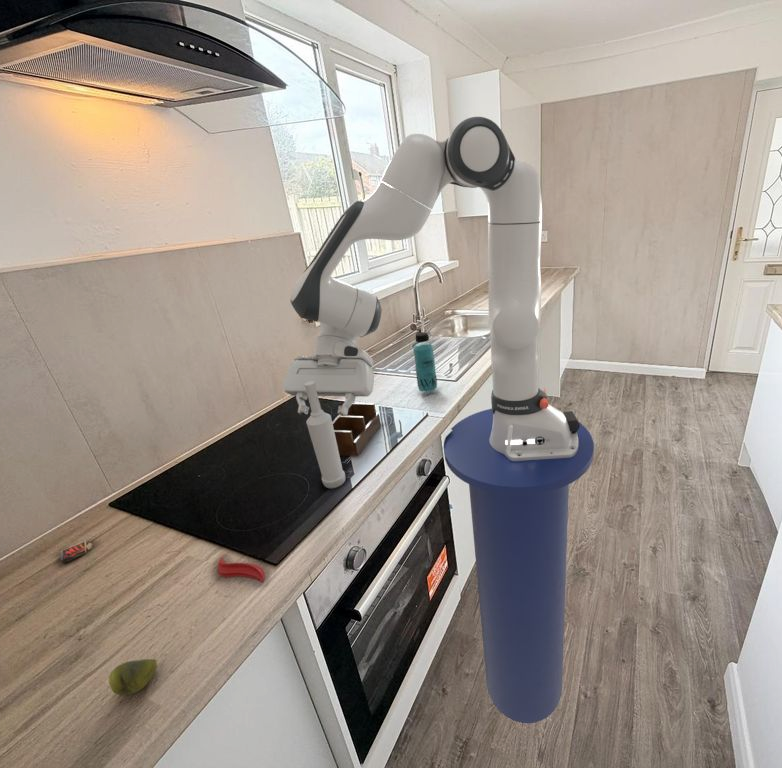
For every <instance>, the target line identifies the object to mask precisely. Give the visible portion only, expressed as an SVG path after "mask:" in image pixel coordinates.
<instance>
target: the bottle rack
mask: <svg viewBox="0 0 782 768" xmlns="http://www.w3.org/2000/svg"><path fill="white" fill-rule="evenodd" d="M376 409H377V408H376V405H375V403H374V402H372V403H371V402H354V403H353V404H352V405H351V406H350V408H349V409H348V414H347V415H346V416H344V415H339V414H338V415H337V416H336V417H335V418H334V419H333V420H332V423H333V428H334V433H335V437H336V442H337V446H338V451H339V456H345V457H346V456H347V457H348V456H349V457H359V456H360V454H361V453H362V452H363V451H364V450H365V447H366V446H367V445H368V444H369V442H370V441H371V440H372V438H373V437H374V435H375V434H376V432H377V431H378V430H379V429H380V428H381V426H382V423H381V417H380V412H377V410H376Z"/></svg>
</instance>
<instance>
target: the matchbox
mask: <svg viewBox="0 0 782 768" xmlns="http://www.w3.org/2000/svg"><path fill="white" fill-rule="evenodd" d="M93 546H94V545H93V544H92V542H88V543H87V541H86V540H83V541H81V542H78V543H76V544H73V545H70V546H69V547H66V548H65V549H62V550H61V551H60V552H59V553H60V557H61V558H60V561H62V562H63V563H66V562H67V563H68V562H70V561H71V562H72V561H74V560H75V559H76V558H78V557H81V556H82V555H84V554H86V553H87V551H90V550H91V549H92V548H93Z"/></svg>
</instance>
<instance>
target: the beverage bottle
mask: <svg viewBox="0 0 782 768" xmlns="http://www.w3.org/2000/svg"><path fill="white" fill-rule="evenodd" d="M429 340H430V337H429V333H427V332H417V333H415V343H416V342H417V343H416V344H415V345H414V346H413V356H414V364H415V366H414V367H415V375H416V376H415V377H416V378H415V379H416V383H417V389H418V390H419V391H420V392H423V393H424V392H427V393H428V392H432V391H434V390H436V389H437V387H438V378H437V372H436V361H435V354H434V345H433V344H431V343H430V342H428V341H429Z"/></svg>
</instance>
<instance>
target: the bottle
mask: <svg viewBox="0 0 782 768" xmlns="http://www.w3.org/2000/svg"><path fill="white" fill-rule="evenodd" d="M304 385H305V388H306V392H307V395H308V397H307V400H308V403H309V405H310V406H309V408H310V410H311V411H310V415H309V417H308V418H307V419H306V421H305V422H306V426H307V429H308V433H309V436H310V437H309V438H310V440H311V444H312V446H313V451H314V454H315V456H316V460H317V463H318V467H319V470H320V474H321V482H322V484H323V486H324V488H327V489H335V488H339V487H340V486H342V485H343V484H344V483H345V482H346V473H345V470H343V465H342V461H341V457H340V456H341V455H339V451H338V446H337V442H336V437H335V433H334V428H333V423H332V421H333V420H332V415H331V414H330V413H327V412H324V410H323V409H322V406H321V402H320V399H319V396H318V395H317V390H316V386H315V382H314V381H309V382H306V383H305V384H304Z"/></svg>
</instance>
